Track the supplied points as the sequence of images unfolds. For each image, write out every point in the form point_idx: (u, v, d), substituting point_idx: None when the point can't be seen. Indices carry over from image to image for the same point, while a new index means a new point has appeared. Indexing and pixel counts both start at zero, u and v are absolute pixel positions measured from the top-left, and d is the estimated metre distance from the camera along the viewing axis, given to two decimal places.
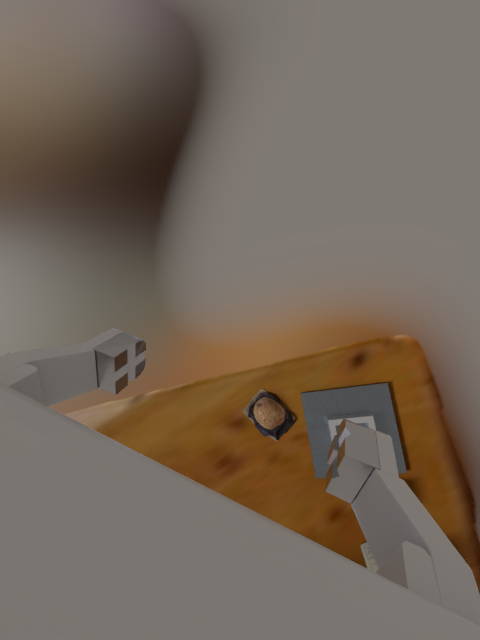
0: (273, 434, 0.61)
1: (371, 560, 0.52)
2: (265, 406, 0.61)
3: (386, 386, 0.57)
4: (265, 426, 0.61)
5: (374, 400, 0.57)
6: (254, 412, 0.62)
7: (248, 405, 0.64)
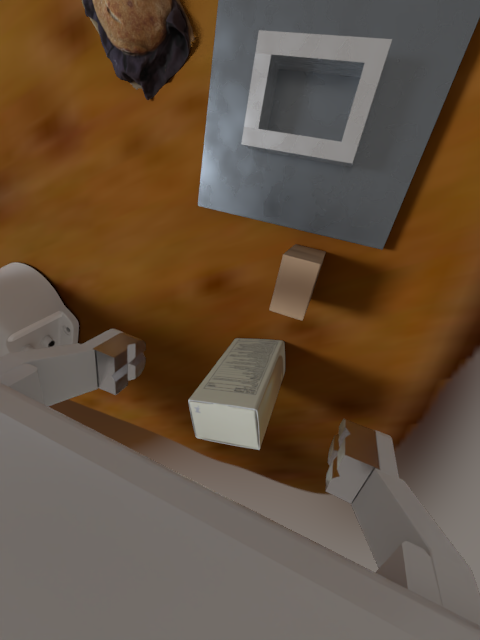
0: (134, 72, 0.25)
1: (229, 358, 0.29)
2: None
3: None
4: (114, 38, 0.24)
5: (424, 11, 0.18)
6: None
7: None
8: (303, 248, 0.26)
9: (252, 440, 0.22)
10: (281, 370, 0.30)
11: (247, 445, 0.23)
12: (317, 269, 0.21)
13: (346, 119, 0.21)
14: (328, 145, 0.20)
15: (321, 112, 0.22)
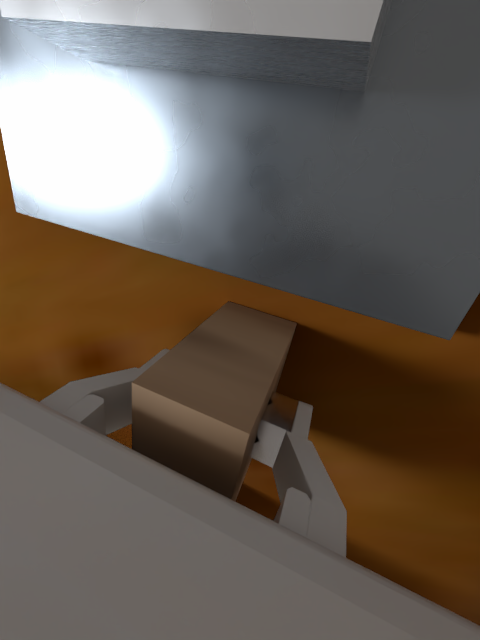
0: None
1: None
2: None
3: None
4: None
5: None
6: None
7: None
8: (239, 319, 0.10)
9: None
10: None
11: None
12: (241, 446, 0.06)
13: None
14: None
15: None
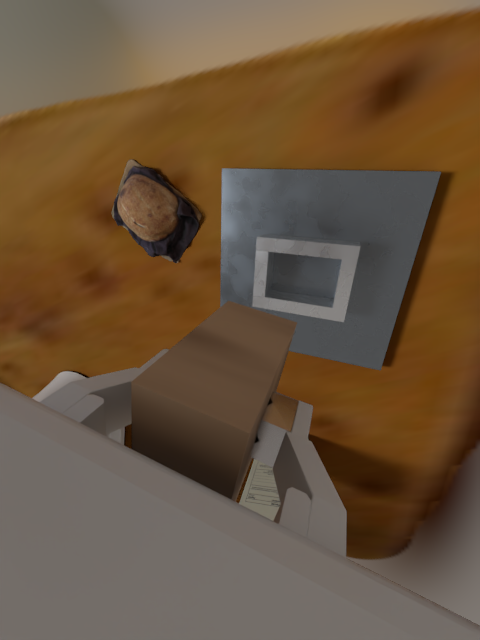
0: (162, 251, 0.31)
1: None
2: (130, 191, 0.28)
3: (432, 181, 0.21)
4: (142, 236, 0.31)
5: (383, 214, 0.23)
6: (118, 210, 0.30)
7: None
8: (239, 318, 0.10)
9: None
10: None
11: None
12: (241, 445, 0.06)
13: (334, 280, 0.26)
14: (322, 309, 0.25)
15: (313, 276, 0.27)
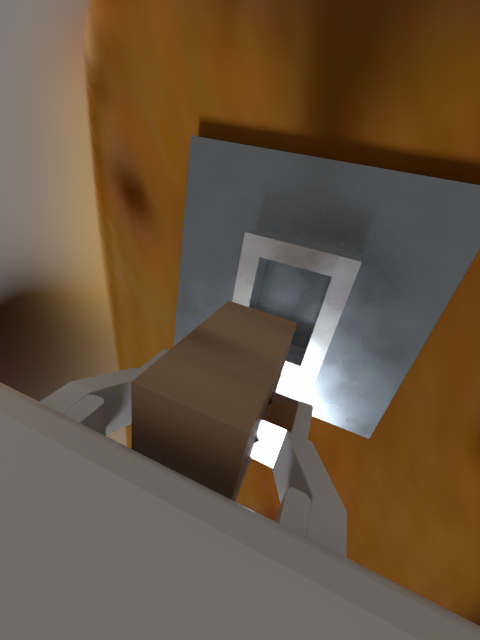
0: None
1: None
2: None
3: (199, 143, 0.18)
4: None
5: (228, 199, 0.18)
6: None
7: None
8: (239, 318, 0.10)
9: None
10: None
11: None
12: (241, 445, 0.06)
13: None
14: (333, 292, 0.16)
15: (294, 291, 0.19)
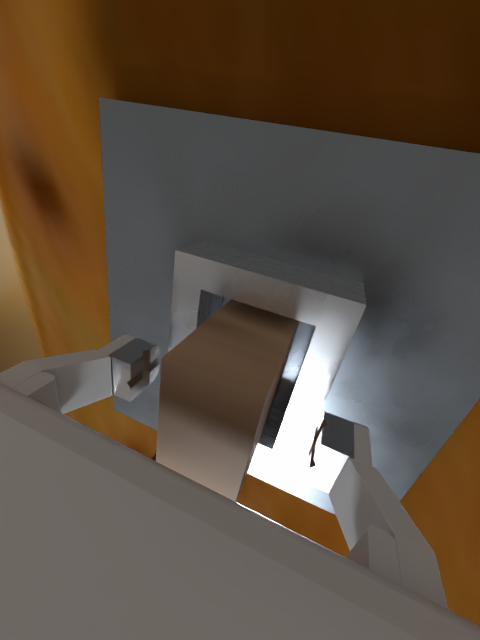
0: None
1: None
2: None
3: (112, 110, 0.11)
4: None
5: (162, 197, 0.12)
6: None
7: None
8: (249, 308, 0.11)
9: None
10: None
11: None
12: (258, 411, 0.07)
13: None
14: (318, 349, 0.10)
15: None
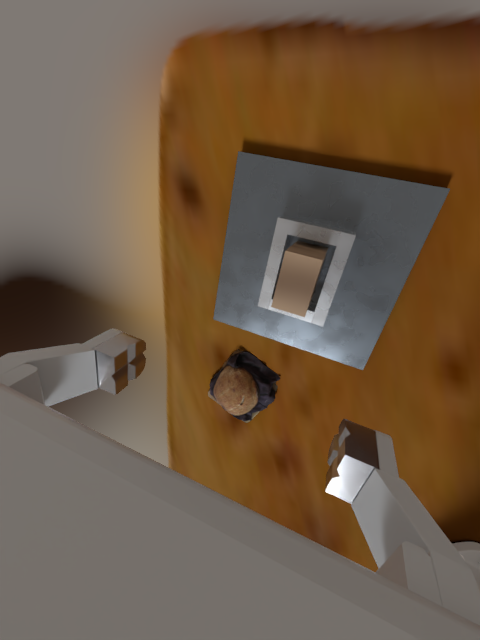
0: (266, 387, 0.35)
1: None
2: (220, 400, 0.36)
3: (244, 157, 0.26)
4: (253, 401, 0.35)
5: (263, 195, 0.26)
6: (236, 415, 0.37)
7: None
8: (305, 244, 0.26)
9: None
10: None
11: None
12: (319, 265, 0.21)
13: (317, 240, 0.26)
14: (337, 256, 0.24)
15: None
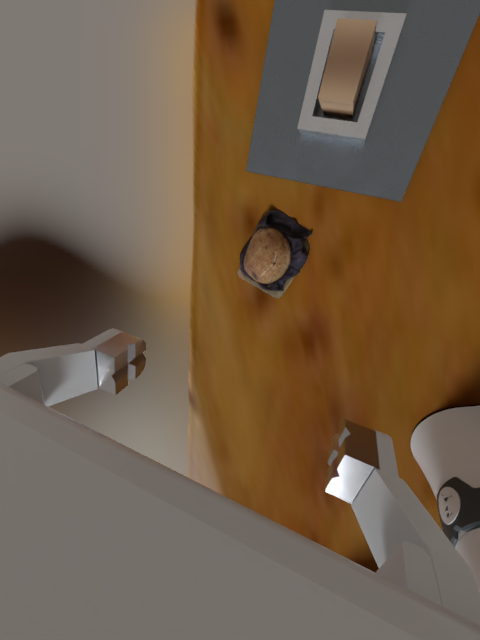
0: (298, 242, 0.34)
1: None
2: (251, 265, 0.36)
3: None
4: (286, 259, 0.35)
5: (306, 4, 0.26)
6: (268, 282, 0.37)
7: (267, 291, 0.40)
8: None
9: None
10: None
11: None
12: (373, 28, 0.21)
13: None
14: (385, 45, 0.24)
15: None
